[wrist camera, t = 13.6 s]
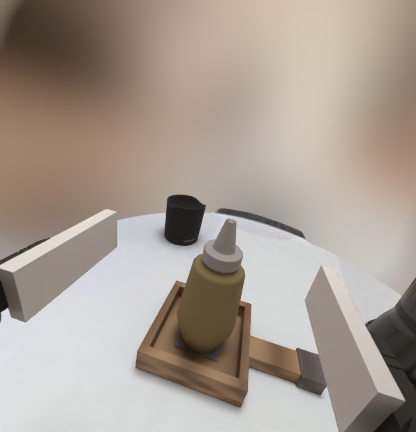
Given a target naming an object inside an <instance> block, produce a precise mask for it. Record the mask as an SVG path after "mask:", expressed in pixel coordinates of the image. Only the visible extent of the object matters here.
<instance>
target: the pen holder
mask: <svg viewBox="0 0 416 432" xmlns="http://www.w3.org/2000/svg"><path fill="white" fill-rule="evenodd" d="M205 207H206V205H203V204H201V203H200V202H199V201H198V200H197V199H196V198H194V197H192V196H187V195H172V196H169V197H168V199H167V209H166V221H165V237H166V238H167V239H168V240H169V241H170V242H172V243H174V244H178V245H190V244H193V243H194V242H196V241H197V239H198V235H199V231H200V227H201V223H202V219H203V215H204V211H205Z"/></svg>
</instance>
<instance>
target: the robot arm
mask: <svg viewBox="0 0 416 432" xmlns="http://www.w3.org/2000/svg"><path fill="white" fill-rule="evenodd" d="M116 247H117V212H116V211H112V210H109V209H106V210H104V211H102V212H100V213H98V214H96V215H94V216H92V217H90V218H88V219H87V220H85V221H83V222H81V223H79V224H77V225H75V226H73V227H71V228H69V229H68V230H66V231H64V232H62V233H60V234H58V235H56V236H54V237H52V238H48V239H44V240H41V241H37V242H35V243H34V244H31V245H30V246H28V247H27V248H24V249H22V250H20V251H19V252H16V253H14V254H12V255H10V256H8V257H6V258H4V259H2V260H0V321H1V312H2V311H4V310H5V309H6V308H9V312H10V315H11V317H12V318H15V319H18V320H20V321H23V322H27V321H28V320H29V319H31V318H32V317H33V316H34V315H35V314H37V313H38V312H39V311H40V310H41V309H43V308H44V307H45V306H46V305H47V304H49V303H50V302H51V301H52V300H53V299H55V298H56V297H57V296H58V295H59V294H61V293H62V292H63V291H64V290H65V289H67V288H68V287H69V286H70V285H71V284H73V283H74V282H75V281H76V280H78V279H79V278H80V277H81V276H82V275H84V274H85V273H86V272H87V271H88V270H90V269H91V268H92V267H93V266H94V265H96V264H97V263H98V262H99V261H100V260H102V259H103V258H104V257H105V256H106V255H108V254H109V253H110V252H111V251H112V250H114V249H115V248H116ZM305 303H306V307H307V311H308V315H309V319H310V323H311V326H312V330H313V334H314V338H315V342H316V346H317V349H318V353H319V357H320V361H321V365H322V369H323V373H324V376H325V380H326V384H327V388H328V392H329V396H330V399H331V403H332V407H333V411H334V415H335V419H336V423H337V426H338V430H339V432H416V278H415V280H414V281H413V282H412V284H411V285H410V286H409V288H408V289H407V290H406V292H405V293H404V294H403V296H402V297H401V299H400V300H399V301H398V303H397V304H396V305H395V307H394V308H392V309H390V310H389V311H387V312H385V313H384V314H382V315H380V316H379V317H378V318H377V319H374V320H371V321H369V322H367V323H366V324H364V322H363V320H362V318H361V316H360V315H359V313H358V311H357V309H356V307H355V305H354V303H353V301H352V300H351V298H350V296H349V294H348V292H347V290H346V288H345V286H344V285H343V283H342V281H341V279H340V277H339V275H338V273H337V272H336V270H335V269H334V268H330V267H326V266H322V265H321V267H320V269H319V271H318V273H317V275H316V278H315V280H314V282H313V284H312V286H311V288H310V290H309V292H308V294H307V296H306V299H305Z"/></svg>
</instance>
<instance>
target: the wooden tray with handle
mask: <svg viewBox="0 0 416 432" xmlns="http://www.w3.org/2000/svg"><path fill="white" fill-rule="evenodd" d="M185 285H186V283H183V282H179V281H176V282H175V284H174V286H173V288H172V289H171V291H170V293H169V295H168V297H167V298H166V300H165V302H164V304H163V306H162V307H161V309H160V311H159V313H158V315H157V316H156V318H155V320H154V322H153V324H152V325H151V327H150V329H149V331H148V333H147V334H146V336H145V338H144V340H143V342H142V343H141V345H140V347H139V349H138V351H137V359H136V367H137V368H139V369H142V370H144V371H147V372H150V373H152V374H155V375H158V376H160V377H163V378H166V379H168V380H171V381H174V382H176V383H179V384H181V385H184V386H187V387H189V388H192V389H195V390H197V391H200V392H203V393H205V394H208V395H210V396H213V397H216V398H218V399H221V400H224V401H226V402H229V403H232V404H234V405H237V406H239V407H241V405H242V403H243V401H244V398H245V396H246V394H247V392H248V370H249V367H252V368H255V369H258V370H260V371H263V372H266V373H269V374H272V375H275V376H277V377H280V378H283V379H286V380H289V381H292V382H294V383H296V386H297V387H300V388H302V389H305V390H308V391H311V392H314V393H317V394H319V395H321V393H322V392H323V391H324V389H325V388H326V386H327V384H326V380H325V377H324V373H323V369H322V366H321V362H320V358H319V355H317V354H314V353H311V352H308V351H305V350H302V349H299V348H297V349H296V351H295V350H292V349H289V348H286V347H283V346H280V345H277V344H274V343H271V342H268V341H265V340H262V339H259V338H256V337H253V336H250V324H251V304H249V303H246V302H243V301H240V304H239V309H238V314H237V319H236V324H235V328H234V330H233V332H232V334H231V336H230V337H228V338H227V339H226V340H225V341H224V342H223V343H222V344H221V345H220V346H219V347H218V348H216V349H215V350H214V351H212V352H208V353H200V352H196V351H194V350H192V349H191V348H189V347H188V346H187V345H186V344H185V342H184V341H183V339H182V335H181V331H180V327H179V323H178V318H177V311H178V307H179V304H180V300H181V297H182V294H183V291H184V288H185Z"/></svg>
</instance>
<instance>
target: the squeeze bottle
mask: <svg viewBox="0 0 416 432" xmlns="http://www.w3.org/2000/svg"><path fill="white" fill-rule="evenodd" d="M235 242H236V222H235V221H234V220H231V219H227V220H226V221H225V223H224V225H223V227H222V229H221V231H220V233H219V235H218V237H217V239H216V240H210V241H208V242H207V243H206V244H205V246H204V250H203V254H200V255H198V256H197V257H196V258H195V259H194V261H193V264H192V267H191V270H190V273H189V276H188V279H187V282H186V285H185V288H184V291H183V294H182V297H181V300H180V304H179V307H178V311H177V318H178V323H179V327H180V331H181V335H182V339H183V341H184V342H185V344H186V345H187V346H188V347H189V348H191V349H192V350H194V351H196V352H200V353H208V352H212V351H214V350H215V349H216V348H218V347H219V346H220V345H221V344H222V343H223V342H224V341H225V340H226V339H227V338H228V337H230V336H231V334H232V332H233V330H234V328H235V324H236V319H237V314H238V309H239V304H240V299H241V294H242V289H243V284H244V279H245V273H244V269H243V268H242V266H241V265H240V264H241V261H242V258H243V253H242V251H241V249H240V248H239V247H238V246H236V245H235Z"/></svg>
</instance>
